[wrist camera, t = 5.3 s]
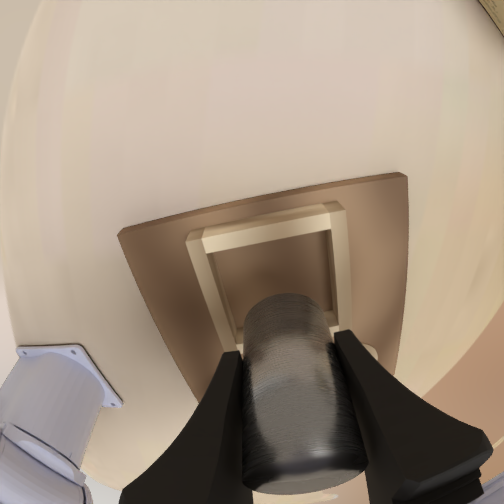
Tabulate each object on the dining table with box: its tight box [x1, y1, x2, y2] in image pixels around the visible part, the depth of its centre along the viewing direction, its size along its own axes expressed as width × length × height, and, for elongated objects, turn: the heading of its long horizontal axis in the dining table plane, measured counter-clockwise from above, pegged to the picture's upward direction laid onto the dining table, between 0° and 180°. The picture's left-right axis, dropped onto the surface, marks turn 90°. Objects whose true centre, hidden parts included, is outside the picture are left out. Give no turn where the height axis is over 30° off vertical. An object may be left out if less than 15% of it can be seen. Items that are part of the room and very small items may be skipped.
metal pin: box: [242, 293, 369, 495], centre depth 10 cm, size 4×4×7 cm
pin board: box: [117, 172, 409, 403], centre depth 16 cm, size 16×16×6 cm
